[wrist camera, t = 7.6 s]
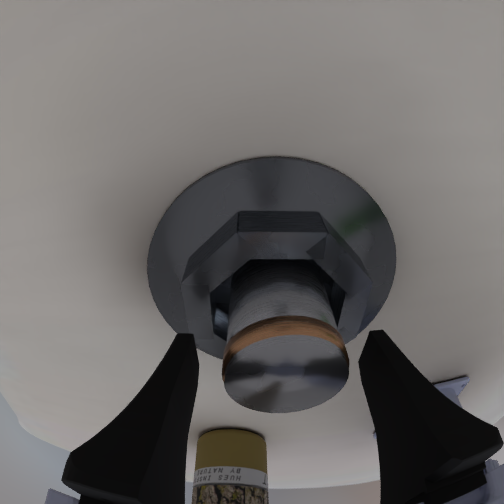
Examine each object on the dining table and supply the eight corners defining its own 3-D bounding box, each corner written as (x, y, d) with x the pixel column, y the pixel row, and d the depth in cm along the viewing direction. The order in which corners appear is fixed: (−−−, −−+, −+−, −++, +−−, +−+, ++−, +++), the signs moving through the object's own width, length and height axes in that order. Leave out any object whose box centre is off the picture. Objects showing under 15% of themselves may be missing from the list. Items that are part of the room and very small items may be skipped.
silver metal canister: (331, 246, 14) (369, 341, 9) (312, 318, 17) (331, 412, 12) (230, 239, 14) (221, 339, 9) (227, 315, 17) (221, 412, 11)
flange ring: (362, 355, 19) (371, 384, 17) (171, 358, 19) (164, 388, 17) (415, 166, 13) (442, 185, 11) (131, 160, 13) (109, 178, 10)
